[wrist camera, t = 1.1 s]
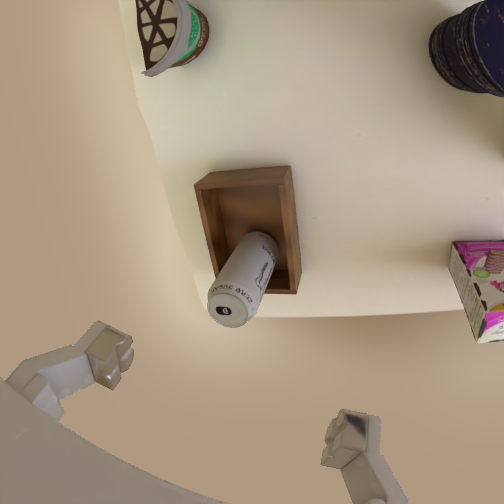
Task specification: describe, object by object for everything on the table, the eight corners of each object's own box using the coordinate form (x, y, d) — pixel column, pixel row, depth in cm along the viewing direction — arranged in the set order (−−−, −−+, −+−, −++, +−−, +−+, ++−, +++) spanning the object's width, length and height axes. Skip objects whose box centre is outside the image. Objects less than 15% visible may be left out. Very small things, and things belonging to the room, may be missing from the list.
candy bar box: (512, 237, 36) (560, 304, 22) (506, 266, 38) (546, 337, 24) (450, 238, 39) (486, 312, 26) (446, 268, 42) (475, 346, 28)
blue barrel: (444, 99, 31) (494, 110, 18) (415, 26, 27) (452, -1, 15) (504, 85, 27) (568, 95, 14) (477, 15, 23) (534, -6, 11)
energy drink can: (282, 264, 48) (257, 333, 36) (243, 264, 50) (208, 329, 38) (277, 228, 46) (249, 290, 33) (237, 229, 47) (196, 288, 35)
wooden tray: (209, 172, 45) (193, 184, 40) (290, 165, 41) (283, 177, 36) (230, 271, 52) (218, 291, 48) (301, 272, 49) (296, 294, 44)
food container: (224, 66, 36) (191, 63, 28) (182, 75, 38) (141, 77, 30) (210, -14, 31) (175, -34, 22) (170, -1, 32) (128, -14, 24)
